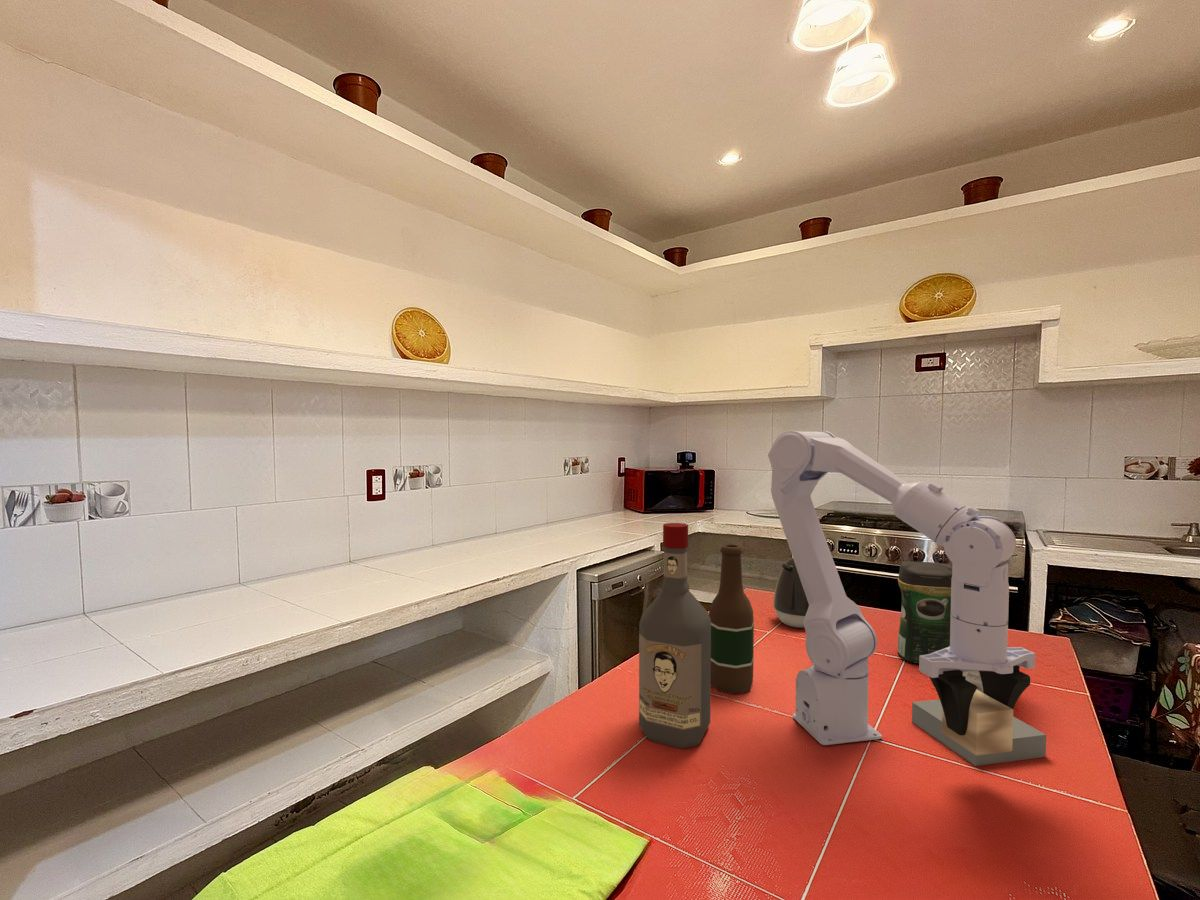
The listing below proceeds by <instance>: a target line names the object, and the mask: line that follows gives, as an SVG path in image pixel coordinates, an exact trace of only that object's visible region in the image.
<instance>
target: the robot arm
mask: <svg viewBox="0 0 1200 900" xmlns="http://www.w3.org/2000/svg"><path fill="white" fill-rule="evenodd" d="M767 457H768V460H769V463H770V465H771V482H770V484H771V485H770V487H771V488H770V492H771V493H770V494H771V498H772V500H773V503H774V507H775V510H776V512H777V514H778V518H779V521H780V524H781V527H782V530H783V533H784V535H785V539H786V541H787V544H788V547H789V550H790V553H791V558H793V559H794V562H795V565H796V568H797V571H798V574H799V577H800V580H801V583H802V586H803V589H804V592H805V595H806V598H807V601H808V604H809V607H808V610H807V613H806V616H805V618H804V621H803V624H804V630H805V635H806V636H805V650H806V654H807V657H808V658H809V660H810V662H811V663H812V665H810V667H808V668H806V669H801V670H799V671H798V673H797V675H796V678H795V712H794V713H792V718H793V719H794V720H795V721H796V722H797V723H798V724H799V725H800V726H802V727H803V728H804V730H805V731H807V733H808V734H810V735H811V736H812V738H814V739H815V740H816V741H817V742H818V743H819V744H820V745H822V746H829V745H839V744H846V743H855V742H856V743H857V742H864V741H873V740H880V739H882V738H883V735H882V733H880V732H879V731H878V730H877V729H876V728H874V727H873V726H872V725H870V724H869V674H870V673H869V672H870V671H869V669H870V667H869V658H870V657H871V656H873V655H874V654H875V651H876V650H877V647H878V638H877V634H876V631H875V630H874V628H873V627H872V625H871V624H870V623H869V622H868V621H867V620H866V618H865V617H864V615H863V613H862V611H861V608H860V606H859V605H858V604H856V603H855V601H854V600H851V598H849V597H848V596H847V594H846V591H845V589H844V586H843V583H842V581H841V578H840V574H839V572H838V569H837V566H836V564H835V560H834V559H833V555H832V553H831V550H830V547H829V544H828V542H827V539H826V536H825V534H824V530H823V528H822V526H821V523H820V519H819V517H818V514H817V511H816V508H815V505H814V503H813V500H812V496H811V495H812V493H813V492H814V490H815V488H816V486H817V485H818V483H819V481H820V480H821V479H822V478H824V476H826V475H827V474H828V473H840V474H842V475H844V476H845V477H847V478H849V479H850V480H853V481H854V482H855V483H858V485H861V486H863V487H864V488H866V489H868V490H869V491H871V492H873V493H874V494H876V495H878V496H880V498H883V499H885V501H888V502H890V504H891V505H892V509H893V514H894V515H895V517H896V519H897V518H898V519H899V520H901V522H903V523H906V524H907V525H908V526H910V527H911V528H912V529H914V530H915V531H917V532H919V533H920V534H922V535H923V536H924V537H926V538H927V539H929V540H930V541H932V542H934V543H935V544H937V545H938V546H940V547H943V550H944V553H945V554H946V556H947V558H948V559H949V561H950V562H951V563H952V566H951V567H952V579H951V621H950V647H947V648H944V649H941V650H939V651H936V652H933V653H931V654H927V655H920V656H919V663H918V665H919V666H918V671H919V672H920V673H923V674H924V675H925V676H927V677H929V680H930V681H931V683H932V685H933V686H934V690H935V691H936V693H937V696H938V698H939V699H940V701H941V704H942V708H943V711H944V715H945V719H946V724H947V727H948V728H949V729H951V730H952V731H954V732H955V733H957V734H958V735H965V734H966V731H967V726H968V715H969V708H970V704H971V700H972V698H973V695H974V693H975V691H976V689H977V688H978V687H977V686H976V685H974V684H972V683H970V682H968V681H967V680H966V677H965V676H963V672H970V671H979V673H980V677H981V681H982V686H983V693H984V694H986V695H988V696H989V697H991V698H993V699H995V700H997V701H999V702H1000V703H1002V704H1004V705H1006V706H1008V707H1010V708H1012V709H1013V710H1014V708H1015V706H1016V704H1017V702H1018V700H1019V698H1020V697H1021V696H1022V694H1023V693H1024V692H1025V690H1026V689H1028V688H1029V686H1030V685H1031V676H1030V675H1029V674H1027V673H1025V672H1022V671H1020V668H1025V669H1027V670H1033V669H1035V668H1036V653H1035V652H1033V651H1030V650H1028V649H1026V648H1025V647H1022V646H1017V647H1016V646H1014V647H1010V646H1008V636H1009V635H1008V632H1009V602H1010V600H1009V598H1010V584H1009V563H1008V562H1007V561H1008V560H1009V559H1011V557H1012V556H1013V555H1014V553H1015V551H1016V549H1017V539H1016V536H1015V534H1014V532H1013V530H1012V529H1011V528H1010V527H1009V526H1008V525H1007V524H1006V523H1004V522H1003V521H1002V520H1001V519H1000V518H999V517H995V516H990V515H981V516H980V513H981V510H980V509H978V508H976V507H975V506H969V507H967V506H966V505H964V504H963V503H960V502H959V501H957V500H955V499H954V498H953V497H951V496H949V495H947V494H945V493H944V492H942V490H943V489H944V487H943V486H942V485H940V484H938V483H937V482H930V483H927V482H925V481H915V482H910V483H909V482H907V481H906V480H904V479H903V478H901V477H900V476H899V475H897V474H895V473H894V472H892V471H891V470H889V469H888V468H886V467H885V466H884V465H882V464H880V463H879V462H877V461H876V460H874V459H873V458H871V457H870V456H868V455H867V454H865V453H864V452H862V451H861V450H859V449H858V448H856V447H855V446H853V445H852V444H851V443H850V442H848V441H847V440H846V439H844V438H842V437H836V435H834V434H833V433H832V432H830V431H826V430H817V431H798V430H786V431H784V432H782V433H781V434H779V435H778V436H777V438H775V440H774V442H773V444H772V446H771V448H770V450H769V451H768V454H767Z"/></svg>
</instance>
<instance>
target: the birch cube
mask: <svg viewBox="0 0 1200 900" xmlns="http://www.w3.org/2000/svg"><path fill="white" fill-rule="evenodd" d="M1013 717H1014V708H1013V709H1012V708H1010V707H1008V706H1006V705H1004V704H1002V703H1000V702H999V701H997V700H995V699H993V698H991V697H989V696H988V695H986V694H984V693H982V692H980V691H978V690H976V691H975V693H974V695H973V698H972V700H971V704H970V708H969V715H968V726H967V731H966V734H965V735H958V734H957V733H955V732H954V731H952V730H951V729H949V728H948V727H947V724H946V719H945V715H944V711H943V708H942V733H943V734H945V735H946V736H948V737H949V738H951V739H952V740H954V741H955V742H957V743H958V744H960V745H961V746H963V747H964V748H965V749H967V750H968V751H970V752H971V753H973V754H974V755H976V756H977V755H985V754H993V753H1001V752H1009V751H1012V743H1013Z"/></svg>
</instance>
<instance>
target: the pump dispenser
mask: <svg viewBox="0 0 1200 900" xmlns="http://www.w3.org/2000/svg"><path fill="white" fill-rule="evenodd" d="M781 567H782V568H781V571H780V573H779V575H778V579H777V581H776V584H775V590H774V594H773V595H774V596H773V602H772V603H773V608H774V609H775V614H776V616H777V617H778V619H779V620H780V622H782V623H783V624H785V625H786V626H788V627H792V628H797V629H803V628H804V624H803V621H804V618H805V616H806V613H807V610H808V607H809V604H808V601H807V598H806V595H805V592H804V589H803V586H802V583H801V580H800V577H799V574H798V571H797V568H796V565H795V562H794V559H793V557H790V558H789V559H788V560H786V562H785V563H783V564H782V565H781ZM804 629H805V628H804Z"/></svg>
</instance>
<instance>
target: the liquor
mask: <svg viewBox="0 0 1200 900" xmlns="http://www.w3.org/2000/svg"><path fill="white" fill-rule="evenodd" d="M662 525H663V526H662V547H663V581H662V582H663V583H662V585H661V591H660V593H658V594H657V596H656V597H655V598H654V600H653V601H652V602H651V603H650V604H649V606H648V607H647V608H646V609H645V610H644V612H643V613H642V614H641V616H640V620H639V621H638V627H639V628H638V655H639V656H638V726H639V728H640V729H641V731H642V733H643V734H644V735H645V736H646V738H647V739H648V740H649V741H651V742H655V743H659V744H662V745H667V746H670V747H674V748H679V749H687V748H692V747H697V746H699V744H700V743H701V741H702V739H703V737H704V735H705V733H706V731H707V729H708V727H709V725H710V723H711V697H712V695H711V691H712V690H711V687H712V686H711V619H710V617H709V611H707V609H705V607H704V606H703V605H702V604H701V603H700V602H699V601H698V599H697V598H696V596H694V595H693V593H692V592H691V591H690V585H689V582H688V548H689V524H687V523H682V522H667V523H663V524H662Z"/></svg>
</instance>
